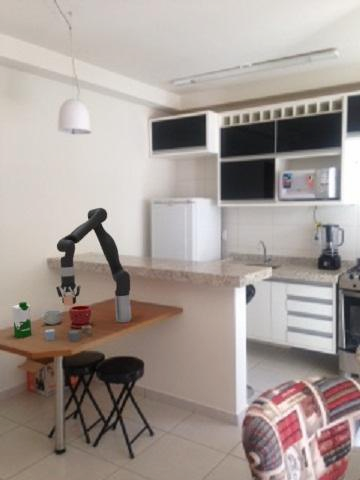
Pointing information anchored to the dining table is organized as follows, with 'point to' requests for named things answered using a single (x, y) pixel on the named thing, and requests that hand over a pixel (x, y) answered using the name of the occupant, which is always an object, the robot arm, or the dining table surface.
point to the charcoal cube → (74, 336)
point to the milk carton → (22, 320)
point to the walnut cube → (86, 331)
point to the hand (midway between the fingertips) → (69, 303)
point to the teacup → (52, 316)
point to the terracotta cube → (68, 300)
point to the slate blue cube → (50, 334)
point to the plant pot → (80, 316)
